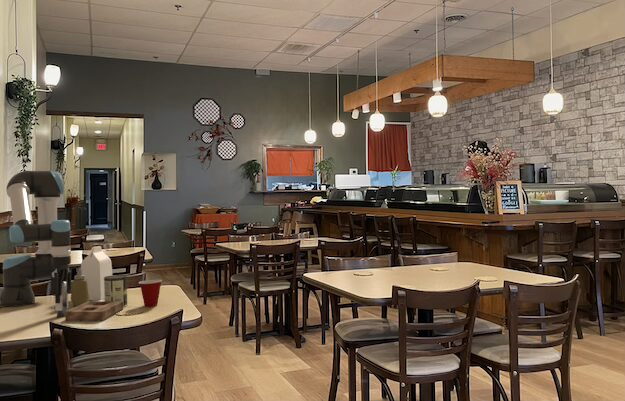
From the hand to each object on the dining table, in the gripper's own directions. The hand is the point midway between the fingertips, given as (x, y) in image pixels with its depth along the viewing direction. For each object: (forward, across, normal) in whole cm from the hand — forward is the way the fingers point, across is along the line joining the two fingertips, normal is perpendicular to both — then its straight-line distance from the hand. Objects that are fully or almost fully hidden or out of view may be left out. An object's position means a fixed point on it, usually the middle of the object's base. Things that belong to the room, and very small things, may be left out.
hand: (61, 309), depth 222 cm
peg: (+3, 0, 0) cm, 3 cm away
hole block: (+3, +2, -14) cm, 14 cm away
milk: (+3, +40, +4) cm, 40 cm away
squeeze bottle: (+3, +21, +3) cm, 21 cm away
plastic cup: (+3, +22, -31) cm, 38 cm away
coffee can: (+3, +20, -15) cm, 25 cm away
